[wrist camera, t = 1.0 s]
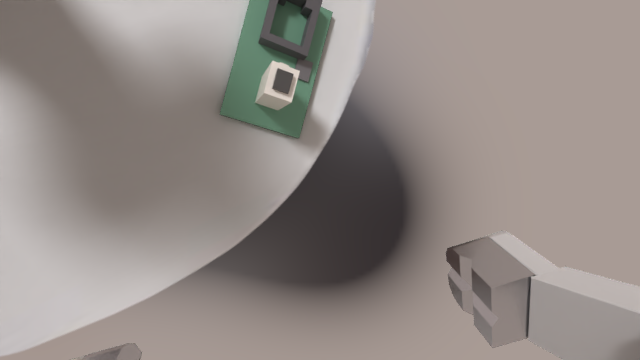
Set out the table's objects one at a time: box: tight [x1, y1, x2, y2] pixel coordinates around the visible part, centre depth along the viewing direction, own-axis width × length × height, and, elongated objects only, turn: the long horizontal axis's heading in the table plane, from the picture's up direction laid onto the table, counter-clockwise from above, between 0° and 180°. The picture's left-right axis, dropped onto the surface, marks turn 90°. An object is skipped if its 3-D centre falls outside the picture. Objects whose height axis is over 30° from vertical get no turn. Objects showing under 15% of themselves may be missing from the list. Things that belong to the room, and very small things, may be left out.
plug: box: [255, 61, 300, 110], centre depth 41 cm, size 5×4×9 cm
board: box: [220, 0, 333, 138], centre depth 44 cm, size 20×12×4 cm, turn 164°
